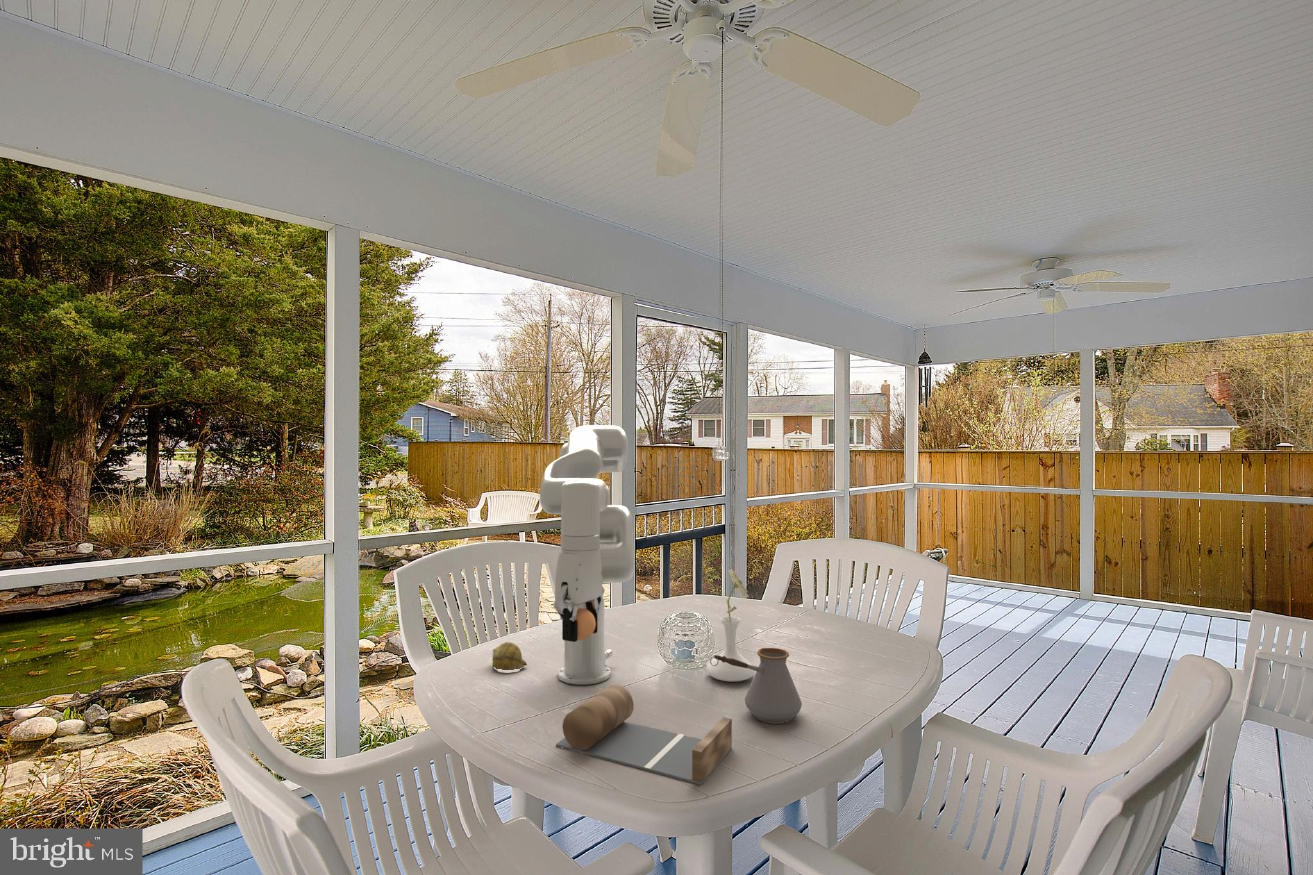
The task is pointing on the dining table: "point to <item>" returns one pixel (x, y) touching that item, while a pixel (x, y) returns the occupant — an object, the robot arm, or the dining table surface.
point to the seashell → (508, 657)
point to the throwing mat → (646, 750)
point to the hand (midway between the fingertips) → (580, 635)
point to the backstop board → (711, 749)
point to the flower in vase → (731, 644)
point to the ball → (585, 623)
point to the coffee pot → (770, 687)
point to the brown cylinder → (597, 717)
